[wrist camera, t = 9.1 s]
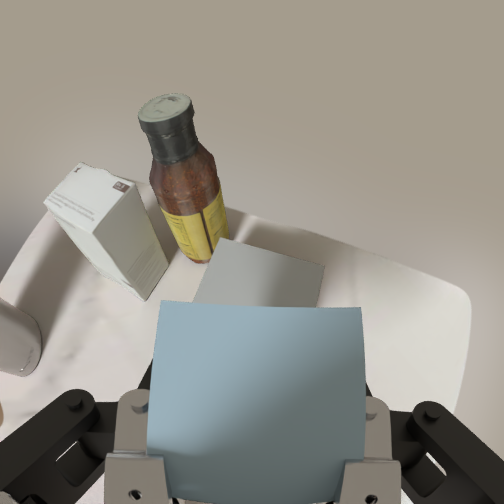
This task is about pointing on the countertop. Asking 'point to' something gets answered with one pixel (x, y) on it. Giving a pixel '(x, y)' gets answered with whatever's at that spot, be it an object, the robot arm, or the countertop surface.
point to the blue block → (257, 401)
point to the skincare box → (110, 227)
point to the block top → (258, 278)
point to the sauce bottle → (184, 176)
